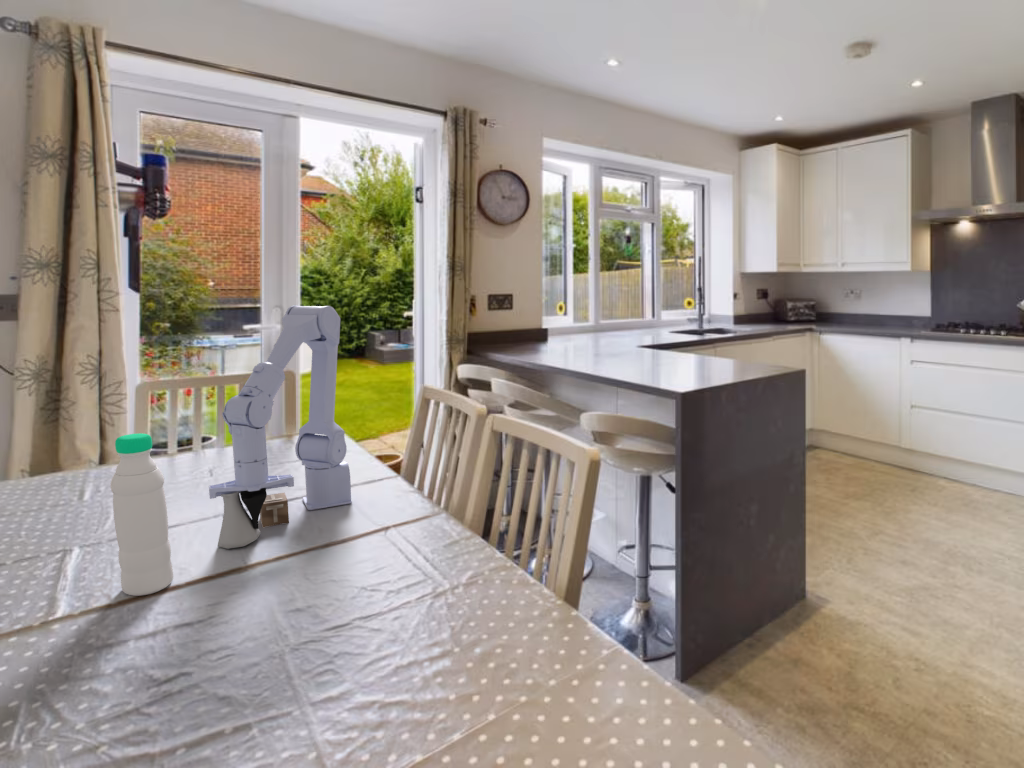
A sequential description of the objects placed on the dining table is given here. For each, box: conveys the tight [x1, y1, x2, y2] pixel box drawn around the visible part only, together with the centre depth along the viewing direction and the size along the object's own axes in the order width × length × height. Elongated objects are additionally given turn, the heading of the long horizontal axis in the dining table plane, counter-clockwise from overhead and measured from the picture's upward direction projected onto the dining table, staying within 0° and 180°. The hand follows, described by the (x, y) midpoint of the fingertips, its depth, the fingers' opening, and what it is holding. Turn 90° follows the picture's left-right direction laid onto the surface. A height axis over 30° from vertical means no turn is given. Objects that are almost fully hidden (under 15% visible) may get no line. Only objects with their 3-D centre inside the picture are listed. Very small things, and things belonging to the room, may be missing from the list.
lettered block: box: [259, 492, 290, 528], centre depth 118 cm, size 5×5×5 cm
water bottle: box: [109, 432, 174, 597], centre depth 90 cm, size 7×7×25 cm
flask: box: [217, 491, 262, 550], centre depth 107 cm, size 7×7×10 cm
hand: (255, 527), depth 109 cm, fingers closed, pressing on flask
